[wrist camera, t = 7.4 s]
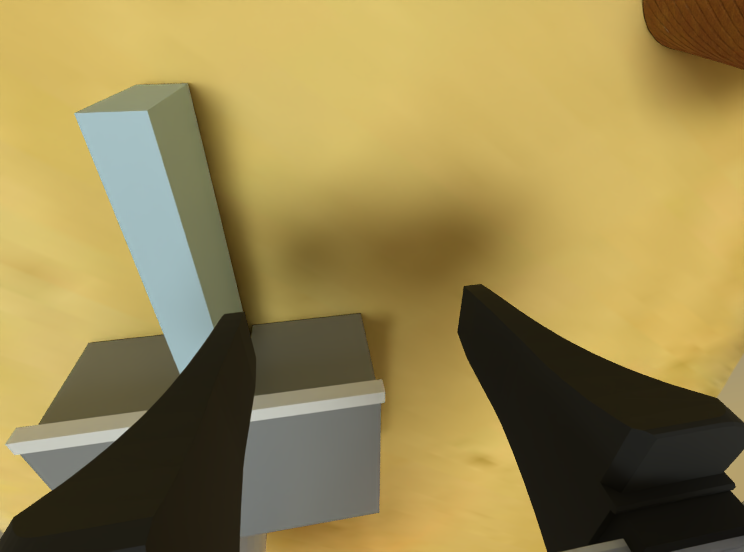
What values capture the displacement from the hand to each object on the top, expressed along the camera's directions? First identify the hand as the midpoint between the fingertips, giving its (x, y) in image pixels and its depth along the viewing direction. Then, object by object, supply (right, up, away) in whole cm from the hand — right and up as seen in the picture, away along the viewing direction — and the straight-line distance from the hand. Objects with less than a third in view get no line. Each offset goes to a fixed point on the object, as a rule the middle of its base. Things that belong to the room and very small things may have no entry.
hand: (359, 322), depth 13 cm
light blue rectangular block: (-8, +4, +7) cm, 11 cm away
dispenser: (-8, -6, +14) cm, 17 cm away
